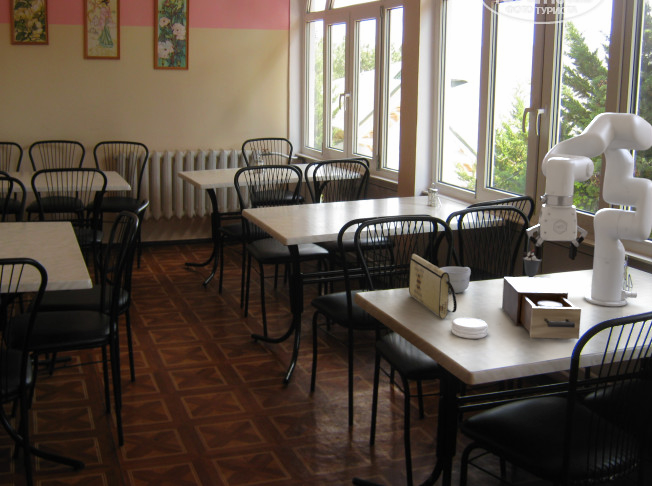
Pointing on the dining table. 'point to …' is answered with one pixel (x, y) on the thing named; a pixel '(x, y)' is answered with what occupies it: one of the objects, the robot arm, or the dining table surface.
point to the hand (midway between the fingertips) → (554, 258)
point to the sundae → (531, 264)
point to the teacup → (458, 277)
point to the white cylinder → (549, 304)
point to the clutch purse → (430, 286)
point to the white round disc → (469, 328)
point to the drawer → (549, 317)
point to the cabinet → (526, 293)
